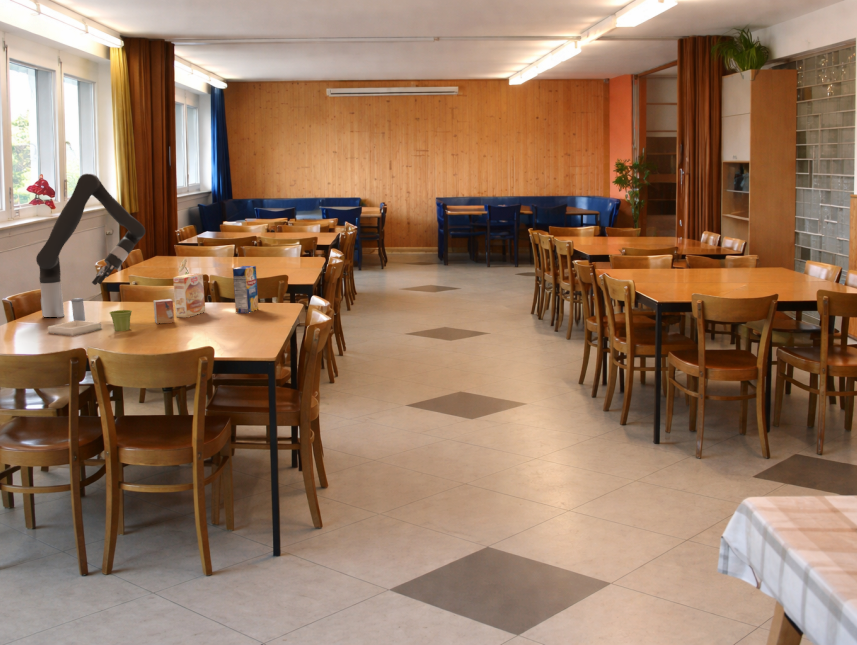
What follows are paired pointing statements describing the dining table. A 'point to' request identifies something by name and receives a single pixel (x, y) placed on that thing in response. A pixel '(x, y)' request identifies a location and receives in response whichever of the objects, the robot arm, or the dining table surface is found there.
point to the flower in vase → (183, 266)
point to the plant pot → (121, 319)
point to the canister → (78, 309)
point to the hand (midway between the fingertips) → (95, 283)
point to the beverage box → (245, 289)
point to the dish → (74, 327)
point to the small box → (163, 311)
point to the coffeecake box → (189, 295)
